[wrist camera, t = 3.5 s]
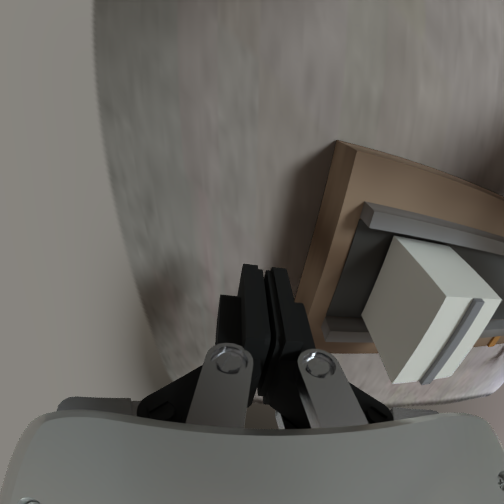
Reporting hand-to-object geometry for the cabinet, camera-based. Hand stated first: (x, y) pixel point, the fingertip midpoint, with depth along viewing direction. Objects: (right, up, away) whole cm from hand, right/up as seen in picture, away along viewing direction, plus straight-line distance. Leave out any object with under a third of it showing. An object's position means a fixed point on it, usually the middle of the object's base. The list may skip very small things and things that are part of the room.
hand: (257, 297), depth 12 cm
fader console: (+16, +1, +7) cm, 17 cm away
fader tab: (+8, 0, +3) cm, 9 cm away
